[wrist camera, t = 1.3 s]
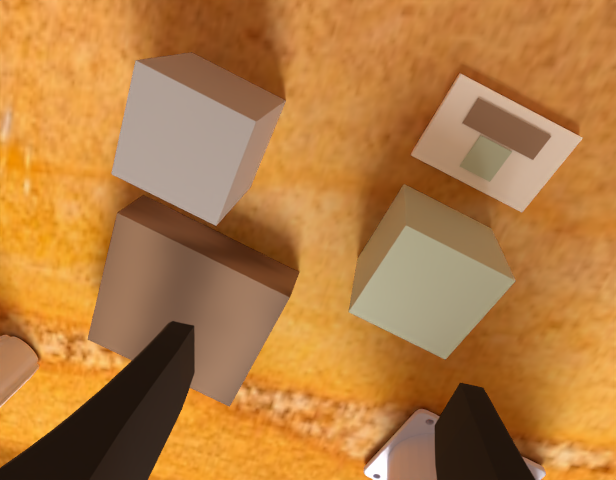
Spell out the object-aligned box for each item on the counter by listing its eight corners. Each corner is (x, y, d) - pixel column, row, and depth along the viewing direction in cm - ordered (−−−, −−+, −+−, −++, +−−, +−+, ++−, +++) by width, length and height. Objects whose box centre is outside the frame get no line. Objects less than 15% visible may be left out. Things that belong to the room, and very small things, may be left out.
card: (579, 135, 18) (583, 138, 18) (519, 209, 20) (522, 213, 20) (459, 72, 18) (461, 74, 18) (411, 153, 20) (411, 156, 20)
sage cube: (491, 227, 21) (515, 280, 17) (436, 297, 24) (445, 359, 19) (403, 183, 21) (405, 225, 17) (357, 258, 23) (348, 311, 19)
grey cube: (286, 100, 20) (255, 121, 16) (250, 186, 23) (216, 226, 18) (192, 52, 20) (135, 60, 16) (166, 144, 22) (111, 174, 18)
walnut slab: (300, 268, 25) (289, 297, 22) (244, 372, 30) (229, 406, 27) (147, 192, 24) (117, 212, 22) (115, 310, 29) (87, 339, 27)
